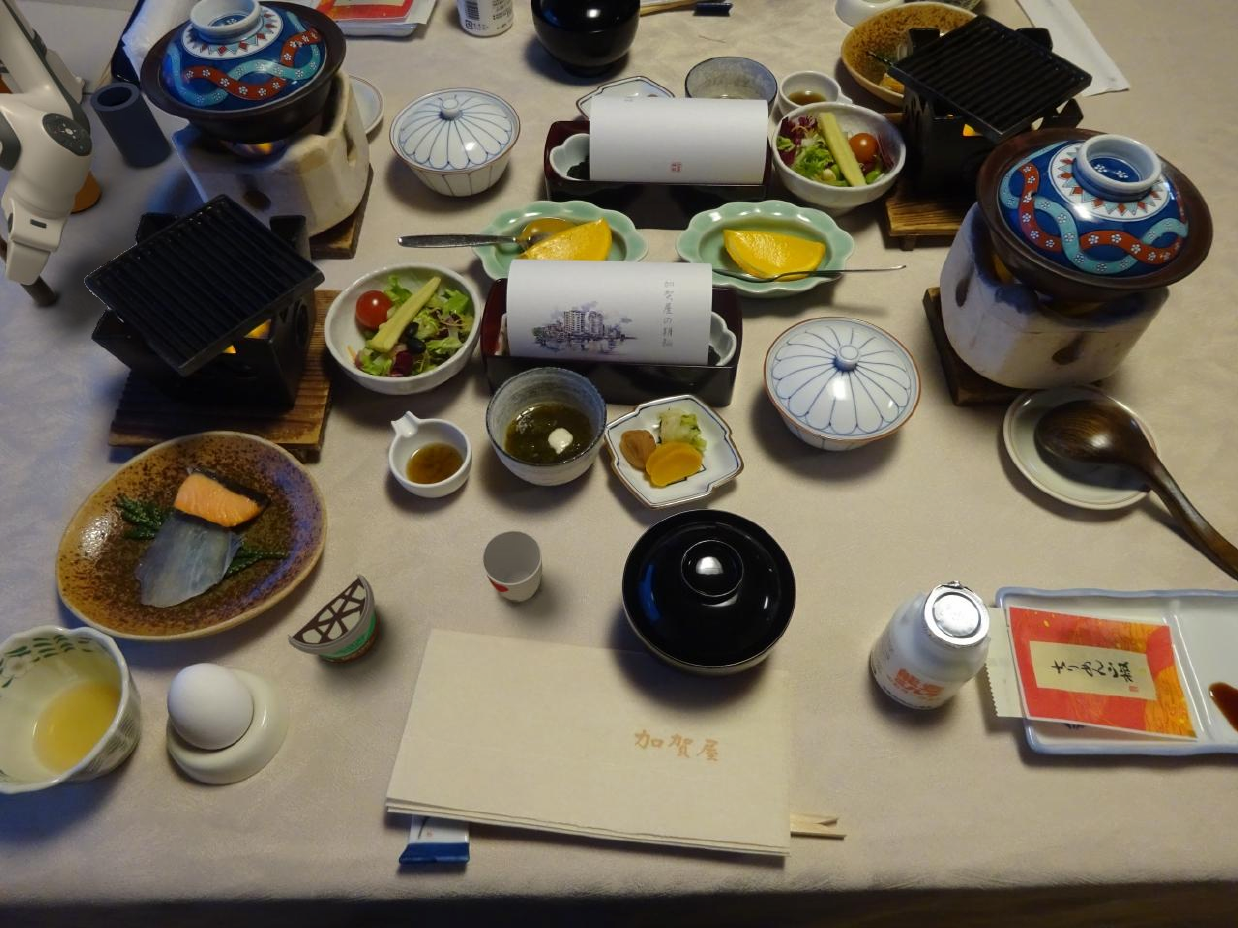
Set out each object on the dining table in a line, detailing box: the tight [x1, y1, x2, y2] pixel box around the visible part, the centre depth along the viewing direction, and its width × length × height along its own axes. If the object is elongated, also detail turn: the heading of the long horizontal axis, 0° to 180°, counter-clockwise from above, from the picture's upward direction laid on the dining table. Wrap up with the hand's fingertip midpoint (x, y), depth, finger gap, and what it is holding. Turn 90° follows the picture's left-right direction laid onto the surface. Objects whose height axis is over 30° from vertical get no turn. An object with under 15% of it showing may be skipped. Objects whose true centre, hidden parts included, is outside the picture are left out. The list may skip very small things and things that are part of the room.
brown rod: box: [0, 233, 58, 307], centre depth 137 cm, size 3×3×16 cm
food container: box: [287, 573, 380, 664], centre depth 106 cm, size 12×6×10 cm, turn 139°
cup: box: [481, 529, 543, 603], centre depth 111 cm, size 8×8×10 cm
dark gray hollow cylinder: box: [89, 82, 172, 169], centre depth 160 cm, size 9×9×13 cm
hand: (11, 264), depth 136 cm, fingers open, 3 cm apart
